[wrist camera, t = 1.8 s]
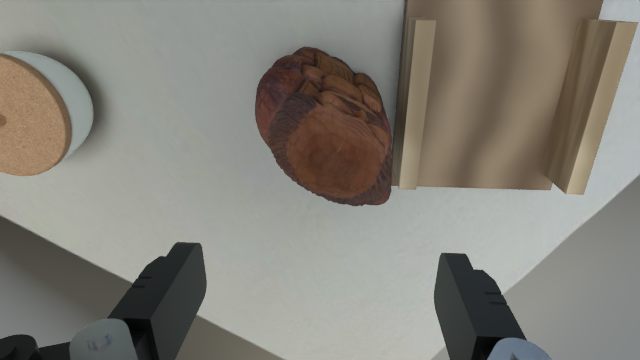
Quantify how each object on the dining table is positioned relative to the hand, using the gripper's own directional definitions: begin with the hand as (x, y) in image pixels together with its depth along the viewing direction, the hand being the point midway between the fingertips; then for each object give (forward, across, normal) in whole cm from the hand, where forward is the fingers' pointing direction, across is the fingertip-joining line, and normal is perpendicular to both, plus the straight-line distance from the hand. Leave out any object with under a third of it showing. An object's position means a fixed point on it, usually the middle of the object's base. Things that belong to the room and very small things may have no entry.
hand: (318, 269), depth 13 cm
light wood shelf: (+28, -14, 0) cm, 31 cm away
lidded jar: (+28, +28, +1) cm, 40 cm away
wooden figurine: (+28, 0, 0) cm, 28 cm away
